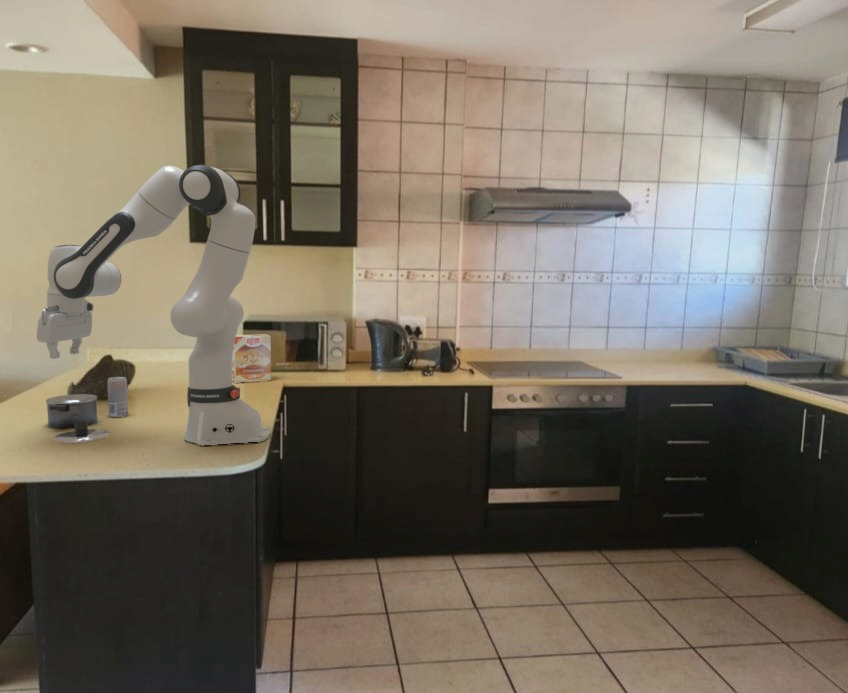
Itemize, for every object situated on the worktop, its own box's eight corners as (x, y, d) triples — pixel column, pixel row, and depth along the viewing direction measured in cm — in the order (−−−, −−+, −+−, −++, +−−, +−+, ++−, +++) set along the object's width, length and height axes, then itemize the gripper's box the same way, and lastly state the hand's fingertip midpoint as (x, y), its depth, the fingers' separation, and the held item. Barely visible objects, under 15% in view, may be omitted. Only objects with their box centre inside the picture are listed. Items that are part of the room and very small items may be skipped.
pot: (108, 416, 190) (107, 392, 190) (82, 431, 173) (81, 404, 172) (64, 417, 189) (63, 392, 188) (33, 431, 172) (32, 404, 171)
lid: (116, 431, 174) (115, 415, 174) (96, 444, 161) (95, 426, 161) (68, 432, 173) (67, 415, 172) (44, 444, 160) (43, 426, 160)
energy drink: (123, 413, 196) (121, 376, 194) (131, 415, 192) (129, 378, 191) (106, 416, 191) (104, 378, 190) (113, 418, 188) (112, 380, 187)
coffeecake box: (235, 384, 251) (234, 336, 249) (231, 381, 257) (230, 334, 255) (271, 381, 259) (271, 335, 256) (266, 378, 265) (266, 333, 262)
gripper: (55, 308, 155) (54, 362, 157) (97, 304, 176) (95, 352, 177) (30, 306, 155) (29, 360, 157) (74, 302, 175) (73, 350, 177)
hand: (64, 356), depth 167 cm, fingers open, 8 cm apart
